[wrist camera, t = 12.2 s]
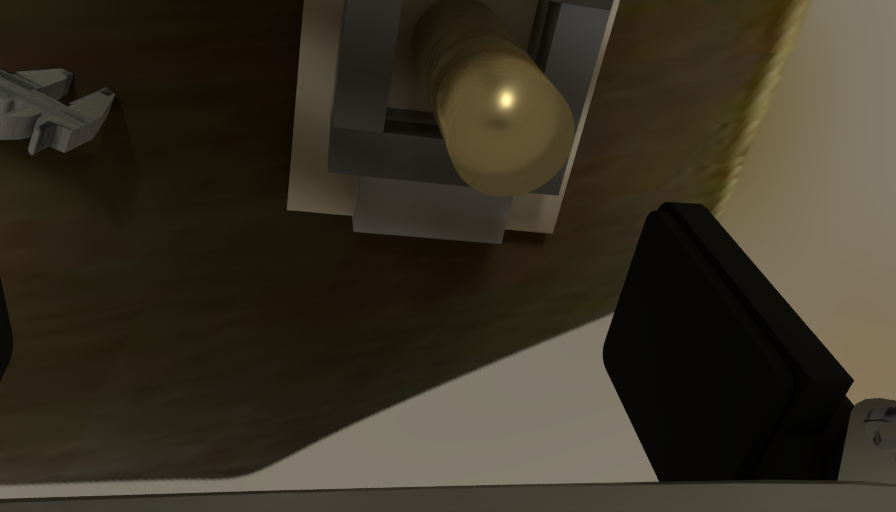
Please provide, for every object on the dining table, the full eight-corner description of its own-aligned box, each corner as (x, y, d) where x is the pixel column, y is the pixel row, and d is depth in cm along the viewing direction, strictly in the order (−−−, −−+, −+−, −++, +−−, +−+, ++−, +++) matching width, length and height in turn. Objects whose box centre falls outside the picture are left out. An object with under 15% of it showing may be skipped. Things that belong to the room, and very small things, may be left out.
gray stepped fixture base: (321, -219, 27) (322, -220, 24) (647, -150, 30) (694, -141, 26) (287, 195, 36) (284, 243, 32) (545, 219, 39) (569, 265, 35)
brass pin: (419, -10, 30) (463, 68, 22) (513, 5, 31) (589, 86, 23) (403, 85, 32) (437, 190, 24) (492, 97, 33) (555, 202, 25)
